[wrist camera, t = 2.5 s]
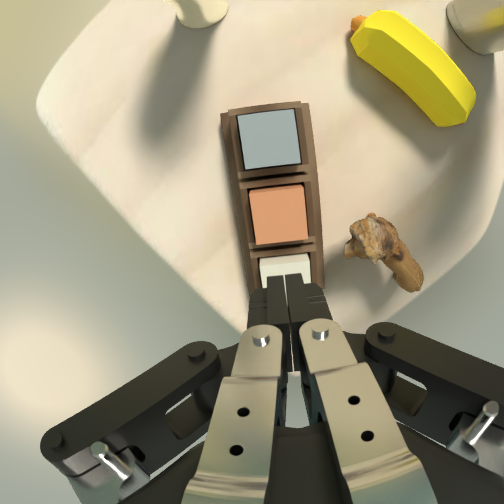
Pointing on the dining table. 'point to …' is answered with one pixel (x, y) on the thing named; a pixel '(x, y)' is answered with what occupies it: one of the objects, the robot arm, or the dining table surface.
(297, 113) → the button board
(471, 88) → the ripe banana
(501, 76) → the dining table surface
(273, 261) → the ivory button
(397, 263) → the lion figurine
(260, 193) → the terracotta button
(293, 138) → the slate button
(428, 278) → the dining table surface
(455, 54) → the dining table surface
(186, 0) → the beer glass
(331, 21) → the dining table surface
